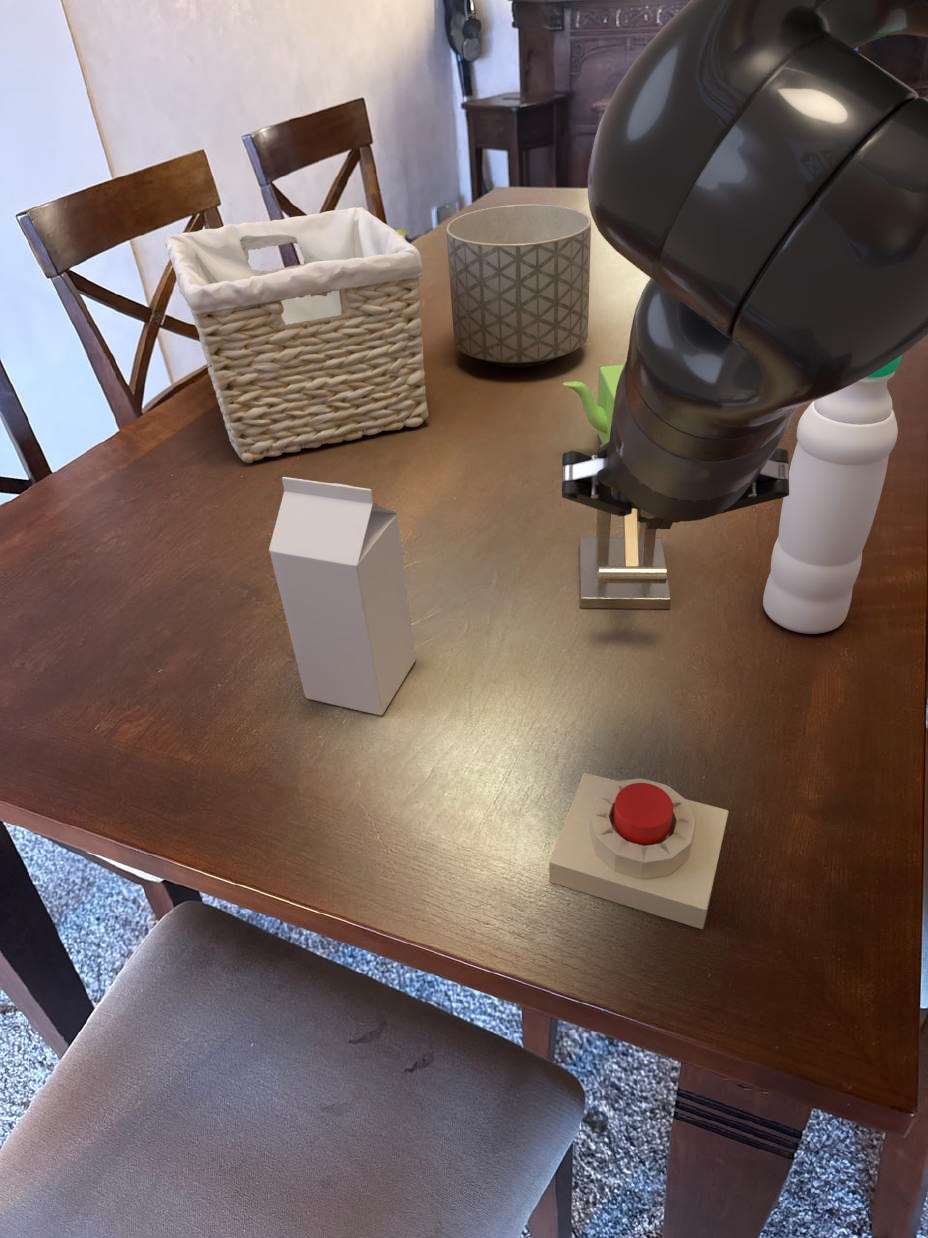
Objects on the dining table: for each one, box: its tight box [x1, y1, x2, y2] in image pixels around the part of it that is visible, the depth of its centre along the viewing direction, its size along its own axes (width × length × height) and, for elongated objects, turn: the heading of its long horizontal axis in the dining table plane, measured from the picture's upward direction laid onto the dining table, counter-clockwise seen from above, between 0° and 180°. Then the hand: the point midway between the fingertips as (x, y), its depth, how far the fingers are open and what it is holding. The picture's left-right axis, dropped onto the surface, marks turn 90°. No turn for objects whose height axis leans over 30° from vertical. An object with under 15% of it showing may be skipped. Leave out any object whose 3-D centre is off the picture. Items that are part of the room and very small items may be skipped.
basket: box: [164, 206, 429, 464], centre depth 109 cm, size 27×27×22 cm
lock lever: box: [598, 508, 668, 584], centre depth 73 cm, size 12×6×2 cm, turn 174°
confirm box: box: [548, 772, 730, 930], centre depth 57 cm, size 10×8×4 cm
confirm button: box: [614, 783, 673, 845], centre depth 55 cm, size 4×4×2 cm
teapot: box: [562, 364, 625, 445], centre depth 97 cm, size 15×13×11 cm
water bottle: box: [762, 354, 903, 635], centre depth 69 cm, size 7×7×25 cm
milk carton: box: [268, 476, 417, 716], centre depth 67 cm, size 7×7×19 cm
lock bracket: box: [578, 444, 672, 610], centre depth 78 cm, size 10×8×13 cm
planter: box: [445, 203, 592, 369], centre depth 119 cm, size 19×19×18 cm
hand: (657, 514), depth 57 cm, fingers closed
